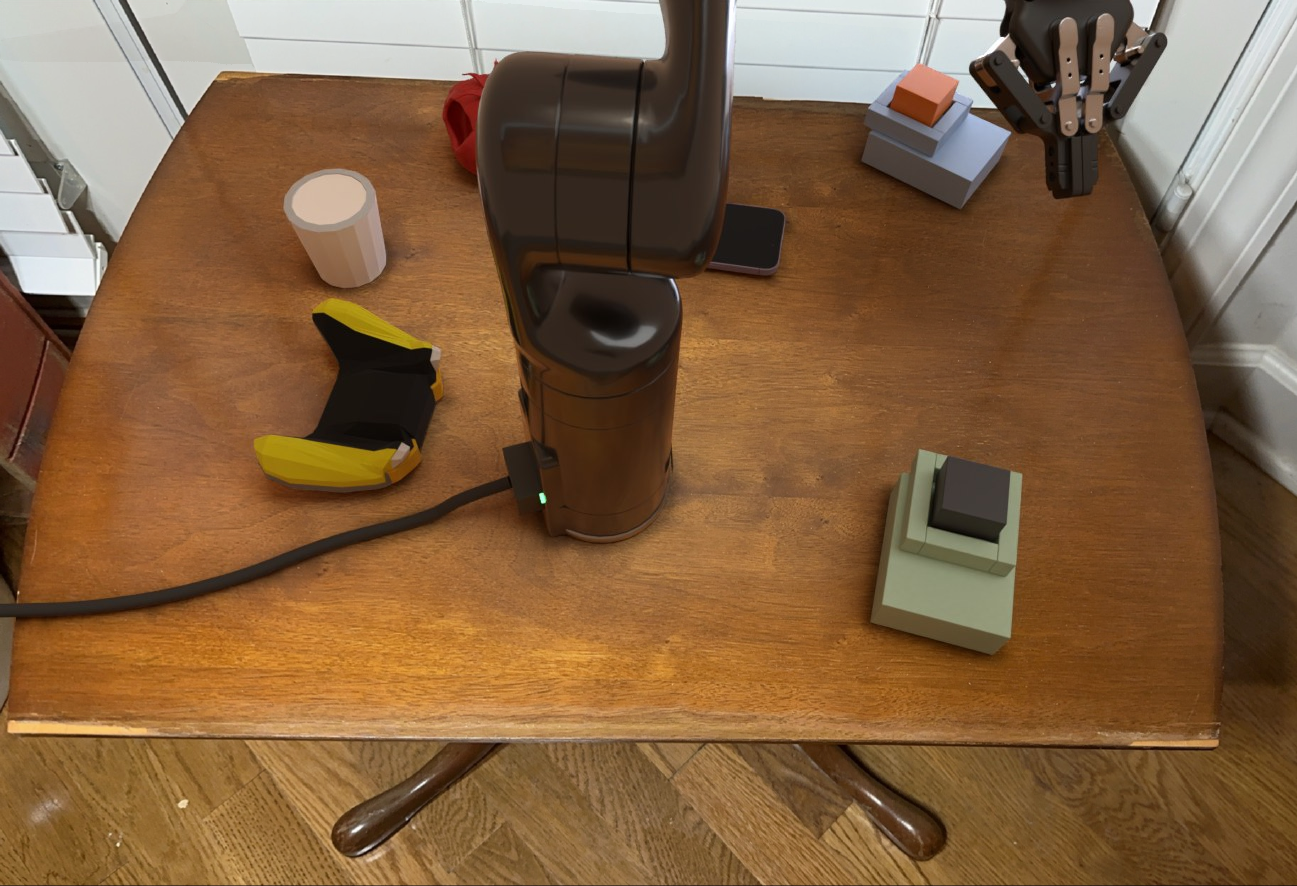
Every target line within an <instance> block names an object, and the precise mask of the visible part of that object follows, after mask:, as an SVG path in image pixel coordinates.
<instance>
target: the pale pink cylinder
mask: <svg viewBox="0 0 1297 886" xmlns="http://www.w3.org/2000/svg"><path fill="white" fill-rule="evenodd" d="M376 194H377V193H376V189H375V188H374V186H373V184H372V183H371V181H370V180H369V178H367V177H366V176H364V175H363V174H361V173H359V172H358V171H354V170H350V169H345V168H341V167H339V168H324V169H320V170H318V171H315V172H314V171H313V172H311V173H308V174H305V176H303V177H301V178H300V179H298V180H297V181H295V182H294V183H293V184H292V185H291V186H290V188H289V190H288V191H287V192H286V194H285V195H284V199H283V207H282V208H283V211H284V213H285V215H286V218H287V219H288V221H289V223H290V225H291V227H292V228H293V230H294V233H295V234H296V236H297V237H298V238H299V241H300V243H301V244H302V246H303V248H304V250H305V252H306V254H307V255H308V257H309V259H310V261H311V262H312V264H313V266H314V267H315V270H316V272H317V273H318V275H319V276H320V277H319V278H321V279H322V281H324V282H325V283H327V284H328V285H330V286H333V287H335V288H336V287H337V288H341V289H352V288H359V287H362V286H365V285H367V284H369V283H371V282H373V281H374V280H376V279H377V278H378V277H379V276H380V275H381V274H382V273H383V271H384V269H385V267H386V265H387V251H386V246H385V240H384V234H383V228H382V223H381V217H380V212H379V211H380V210H379V205H378V200H377V199H378V198H377V195H376Z"/></svg>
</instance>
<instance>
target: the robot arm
mask: <svg viewBox="0 0 1297 886" xmlns="http://www.w3.org/2000/svg"><path fill="white" fill-rule="evenodd" d="M737 1H738V0H658V3H659V8H660V12H661V16H662V23H663V28H664V29H663V30H664V37H665V38H664V39H665V43H664V45H665V48H664V51H663V54H662V56H661V57H660V58H659V59H646V60H645V61H644V60H643V58H635V57H622V56H621V57H619V56H604V55H591V54H578V53H575V54H572V53H562V52H549V51H528V50H527V51H517V52H513V53H511V54H508V55H506V56H504V57H503V58H502V59H501V60H499V61H497V62H498V63H497V64H496V66H495V67H494V66H493V68H494V69H493V68H492V70H491V71H490V73H489V74H490V75H489V76H488V78H487V80H486V83H485V86H484V88H483V91H482V95H481V99H480V103H479V107H478V113H477V121H476V136H475V154H476V167H477V175H476V177H477V186H478V194H479V195H478V196H479V199H480V205H481V209H482V210H481V211H482V216H483V220H484V224H485V229H486V234H487V238H488V243H489V246H490V249H491V253H492V257H493V258H492V259H493V263H494V265H495V269H496V273H497V277H498V280H499V286H500V290H501V295H502V298H503V304H504V308H505V315H506V320H507V324H508V328H509V332H510V334H511V336H512V339H513V344H514V350H515V356H516V357H515V358H516V362H517V369H518V376H519V381H520V388H519V389H518V390H517V397H518V403H519V409H520V415H521V416H520V417H521V421H522V428H523V434H524V442H519V443H516V444H512V445H508V446H504V447H502V455H503V459H504V464H505V465H504V466H505V469H506V472H507V475H506V476H504V477H501V478H498V479H494V480H492V481H489V482H486V483H482V484H479V485H477V486H474V487H472V488H469V489H465V490H464V491H461V492H459V493H457V494H454V495H452V496H450V497H449V498H447V499H446V500H444V501H442V502H441V503H439V504H437V505H434V506H433V507H430V508H427V509H425V510H422V511H419V512H416V513H413V514H410V515H406V516H403V517H399V518H395V519H392V520H388V521H384V522H380V523H379V522H378V523H375V524H371V525H367V526H363V527H359V528H355V529H352V530H351V529H350V530H347V531H343V532H340V533H337V534H334V535H330V536H327V537H323V538H321V539H319V540H316V541H313V542H309V543H307V544H304V545H302V546H299V547H296V548H294V549H292V550H288V551H286V552H284V553H281V554H278V555H276V556H273V557H270V558H268V559H266V560H263V561H260V562H258V563H255V564H253V565H249V566H246V567H243V568H240V569H237V570H234V571H230V572H227V573H223V574H220V575H217V576H212V577H209V578H206V579H202V580H198V581H194V582H190V583H186V584H182V585H178V586H177V585H176V586H173V587H169V588H164V589H163V588H162V589H158V590H153V591H146V592H142V593H141V592H140V593H134V594H128V595H121V596H114V597H106V598H96V599H88V600H86V599H85V600H75V601H72V600H71V601H57V602H22V603H21V602H19V603H18V602H17V603H15V602H13V603H0V618H1V619H2V618H38V617H64V616H65V617H66V616H80V615H91V614H101V613H110V612H117V611H124V610H131V609H138V608H143V607H145V608H146V607H150V606H155V605H161V604H166V603H170V602H176V601H179V600H184V599H188V598H192V597H193V598H194V597H197V596H201V595H204V594H208V593H212V592H216V591H220V590H223V589H228V588H230V587H233V586H237V585H239V584H240V585H241V584H242V583H243V584H244V583H246V582H249V581H252V580H255V579H258V578H260V577H263V576H266V575H268V574H271V573H274V572H276V571H279V570H281V569H284V568H286V567H289V566H292V565H293V564H296V563H298V562H299V563H300V562H301V561H304V560H307V559H310V558H312V557H314V556H318V555H321V554H323V553H326V552H329V551H332V550H335V549H338V548H342V547H345V546H348V545H352V544H357V543H359V542H363V541H367V540H371V539H376V538H380V537H384V536H389V535H391V534H396V533H399V532H403V531H407V530H411V529H413V528H417V527H419V526H423V525H426V524H429V523H431V522H434V521H436V520H437V521H438V520H439V519H442V518H443V517H445V516H447V515H449V514H451V513H452V512H453V511H455V510H457V509H459V508H461V507H464V506H466V505H468V504H471V503H473V502H476V501H479V500H481V499H485V498H487V497H490V496H493V495H496V494H500V493H503V492H505V491H508V490H512V495H513V498H514V502H515V505H516V509H517V512H518V516H524V515H527V514H528V515H529V514H532V513H535V512H541V511H542V514H543V518H544V521H545V526H546V528H547V532H548V535H549V536H550V537H558V536H561V535H568V536H570V537H572V538H574V539H577V540H580V541H584V542H590V543H597V544H598V543H601V544H603V543H604V544H605V543H615V542H620V541H623V540H626V539H630V538H631V537H633V536H636V535H637V534H639V533H641V532H642V531H645V530H646V529H647V528H648V527H649V526H651V524H652V523H654V522H655V520H656V519H657V518H658V517H659V515H660V514H661V512H662V511H663V509H664V507H665V505H666V502H667V499H668V497H669V496H668V495H669V490H670V469H671V474H673V471H674V458H673V444H672V441H673V429H674V420H675V419H674V417H675V408H676V407H675V404H676V395H677V394H676V393H677V383H678V374H679V373H678V371H679V364H680V363H679V362H680V351H681V341H682V340H681V339H682V331H683V320H684V319H683V318H684V315H683V314H684V312H683V309H684V308H683V299H682V296H681V292H680V289H679V285H678V284H677V282H676V280H686V279H693V278H696V277H697V276H700V275H701V274H702V273H703V272H705V270H707V269H708V268H707V267H708V265H709V264H710V262H711V260H712V258H713V256H714V254H715V252H716V249H717V246H718V243H719V240H720V236H721V232H722V227H723V221H724V216H725V210H726V203H728V202H727V201H728V193H729V184H730V183H729V182H730V181H729V180H730V170H731V169H730V168H731V157H732V134H733V133H732V132H733V112H734V111H733V109H734V108H733V107H734V84H735V83H734V81H735V57H736V56H735V55H736V28H737V27H736V25H737V3H738V2H737ZM1003 1H1004V4H1005V9H1004V15H1003V17H1002V20H1001V22H1000V24H999V31H998V32H999V37H1000V38H998V40H997V41H996V42H995V43H994V44H993V45H992V46H991V47H990V48H989V49H988V50H987V51H986V52H985V53H984V55H980V56H979V57H977V58H975V59H973V60H972V61H970V63H969V65H968V73H969V75H970V76H971V77H972V79H973V80H974V82H975V83H976V84H977V85H978V87H980V89H981V90H982V91H983V93H984V95H986V96H987V98H988V99H989V100H990V102H991V103H992V104H993V105H994V106H995V108H996V109H997V110H998V111H999V113H1000V114H1001V116H1003V118H1004V120H1006V121H1007V123H1008V124H1009V125H1010V126H1011V128H1012V129H1013V131H1014V132H1015V133H1016V134H1019V135H1025V134H1028V135H1032V136H1035V137H1038V138H1040V140H1041V141H1042V142H1043V145H1044V167H1045V169H1044V170H1045V171H1044V172H1045V184H1046V185H1045V186H1046V187H1047V191H1048V192H1051V194H1052V196H1053V199H1055V200H1063V199H1071V198H1080V197H1087V196H1090V195H1091V194H1092V193H1093V191H1094V186H1097V183H1098V179H1099V142H1098V141H1099V140H1098V138H1099V137H1098V136H1099V134H1100V132H1101V130H1102V129H1103V128H1104V127H1106V126H1107V125H1110V124H1111V123H1113V122H1115V121H1117V120H1122V119H1123V118H1124V117H1125V116H1126V115H1127V113H1128V112H1129V110H1130V109H1131V107H1132V105H1133V103H1134V102H1135V100H1136V99H1137V97H1138V95H1139V94H1140V92H1141V91H1142V88H1143V87H1144V85H1145V83H1146V82H1147V80H1148V78H1149V77H1150V75H1151V74H1152V72H1153V70H1154V69H1155V67H1156V65H1157V63H1158V62H1159V60H1160V59H1161V57H1162V55H1163V53H1164V52H1165V51H1166V49H1167V47H1168V37H1167V35H1166V34H1165V33H1164V32H1162V31H1161V32H1160V31H1159V32H1156V33H1152V34H1149V33H1148V32H1147V31H1145V29H1143V28H1142V27H1141V26H1139V25H1138V24H1137V23H1136V22H1135V21H1134V19H1135V8H1134V6H1133V3H1132V2H1131V0H1003ZM1112 61H1114V62H1115V64H1114V66H1113V67H1112V69H1111V63H1112ZM1019 67H1020V69H1021V70H1022V71H1023V73H1024V75H1025V76H1026V77H1027V78H1028V79H1026V78H1025V77H1024V76H1023V74H1022V73H1021V72H1020V71H1019ZM1027 80H1028V81H1027ZM1053 84H1055V85H1054V86H1052V85H1053Z"/></svg>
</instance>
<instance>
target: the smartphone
mask: <svg viewBox="0 0 1297 886" xmlns="http://www.w3.org/2000/svg"><path fill="white" fill-rule="evenodd" d="M785 226H786V215H785V213H784V212H783V211H782V210H780V209H777V208H772V207H765V206H757V205H749V204H742V203H733V202H726V210H725V216H724V221H723V227H722V232H721V236H720V240H719V243H718V246H717V249H716V252H715V254H714V256H713V258H712V260H711V262H710V264H709V265H708V267H707V268H706V269H712V270H720V271H726V272H734V273H742V274H750V275H756V276H764V277H765V276H771V275H774V274H775V273H776V272H777V271H778V269H779V266H780V260H781V253H782V246H783V240H784V239H783V238H784V233H785Z"/></svg>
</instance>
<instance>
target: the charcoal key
mask: <svg viewBox="0 0 1297 886" xmlns="http://www.w3.org/2000/svg"><path fill="white" fill-rule="evenodd" d="M946 456H947V458H946V460H945V462H944V463H943V465H942V467H941V468H940V470H939V472H938V473H937V475H936V483H935V491H934V499H933V507H932V515H931V523H930V526H931V527H934V528H938V529H942V530H946V531H950V532H954V533H958V534H962V535H966V536H970V537H974V538H978V539H982V540H986V541H990V542H993V541H994V540H995V538H996V537H997V536H998V534H999V533H1000V532H1001V531H1002V529H1003V528H1004V527H1005V526H1006V524H1007V514H1008V501H1009V488H1010V475H1011V471H1012V470H1010V469H1006V468H1002V467H998V466H994V465H990V464H986V463H982V462H977V461H973V460H970V459H965V458H960V457H957V456H952V455H946Z"/></svg>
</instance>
